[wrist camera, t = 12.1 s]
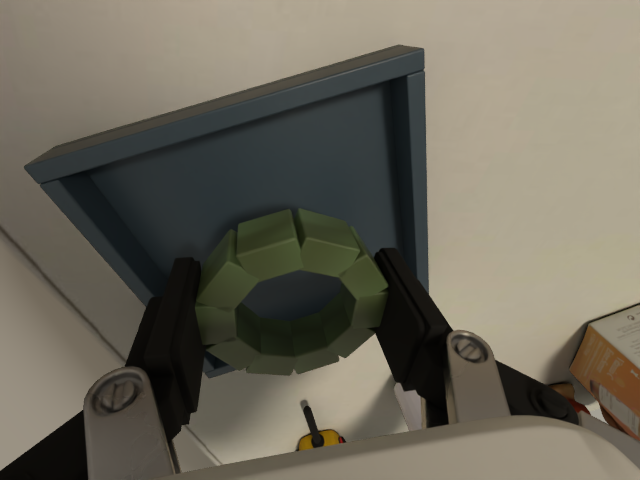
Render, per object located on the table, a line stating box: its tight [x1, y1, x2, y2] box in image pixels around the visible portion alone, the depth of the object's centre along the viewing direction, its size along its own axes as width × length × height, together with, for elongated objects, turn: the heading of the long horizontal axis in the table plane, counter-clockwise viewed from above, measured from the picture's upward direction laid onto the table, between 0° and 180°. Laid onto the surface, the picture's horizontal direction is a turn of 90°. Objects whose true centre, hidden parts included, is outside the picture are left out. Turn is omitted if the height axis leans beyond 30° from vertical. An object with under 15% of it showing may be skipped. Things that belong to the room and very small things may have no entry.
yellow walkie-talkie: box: [297, 406, 346, 451], centre depth 26 cm, size 5×2×15 cm
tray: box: [24, 45, 429, 378], centre depth 13 cm, size 12×12×2 cm
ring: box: [195, 208, 389, 376], centre depth 11 cm, size 6×7×2 cm
